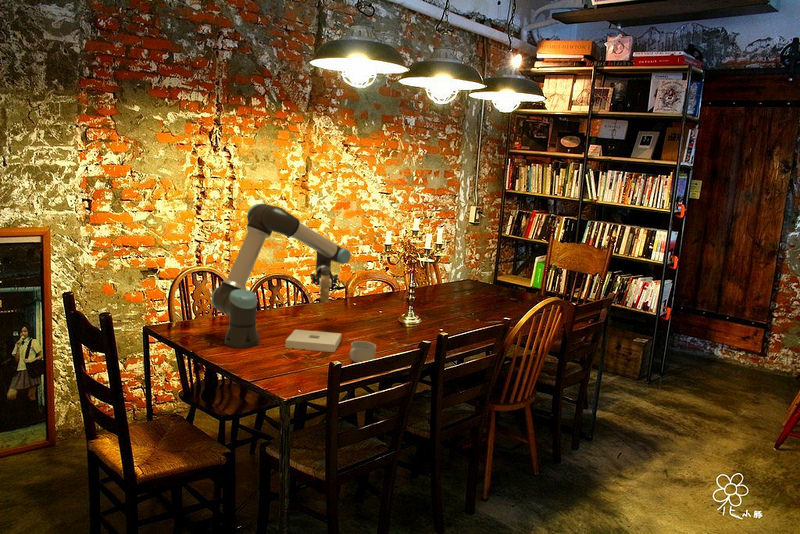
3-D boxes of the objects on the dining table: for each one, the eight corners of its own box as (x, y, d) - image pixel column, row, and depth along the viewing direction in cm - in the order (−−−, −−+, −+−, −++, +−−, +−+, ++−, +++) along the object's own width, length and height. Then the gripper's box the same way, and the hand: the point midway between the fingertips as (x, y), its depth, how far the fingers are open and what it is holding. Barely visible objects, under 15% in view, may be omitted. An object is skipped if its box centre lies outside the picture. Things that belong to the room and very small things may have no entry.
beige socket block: (285, 347, 279) (285, 340, 278) (294, 336, 296) (295, 329, 296) (334, 352, 277) (334, 344, 277) (340, 340, 295) (341, 333, 295)
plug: (319, 301, 295) (320, 268, 291) (321, 299, 299) (322, 267, 295) (327, 302, 294) (328, 269, 291) (329, 300, 298) (330, 267, 295)
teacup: (363, 356, 274) (364, 339, 273) (380, 363, 267) (381, 345, 266) (339, 362, 265) (339, 344, 263) (355, 369, 257) (356, 351, 256)
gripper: (340, 281, 314) (343, 292, 291) (306, 280, 311) (306, 291, 289) (341, 267, 313) (344, 276, 290) (306, 266, 310) (307, 275, 287)
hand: (325, 284), depth 289 cm, fingers closed on plug, 4 cm apart
